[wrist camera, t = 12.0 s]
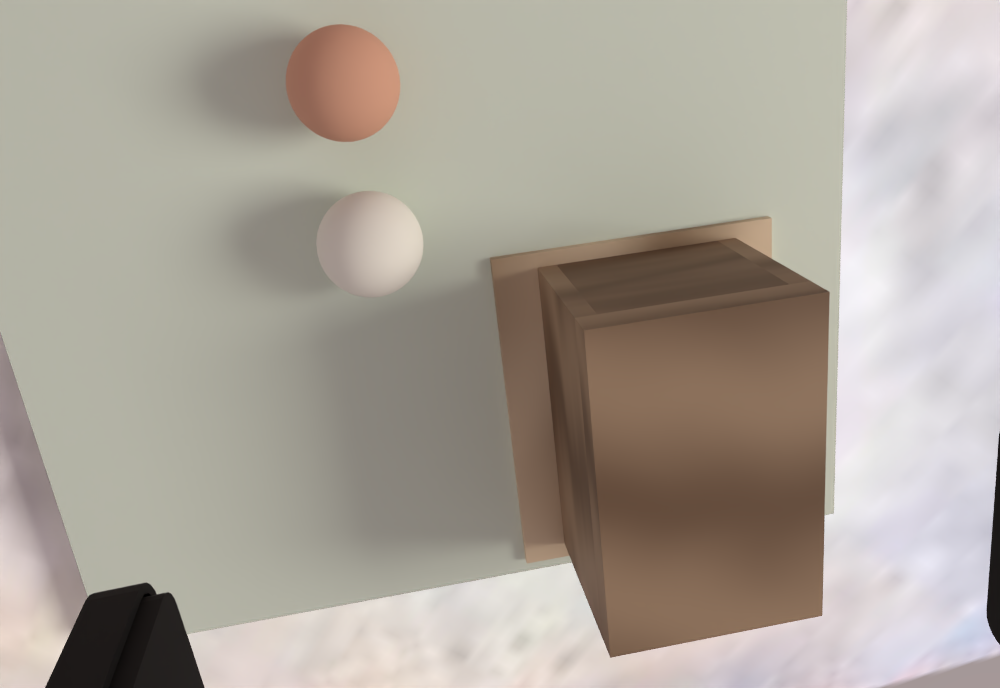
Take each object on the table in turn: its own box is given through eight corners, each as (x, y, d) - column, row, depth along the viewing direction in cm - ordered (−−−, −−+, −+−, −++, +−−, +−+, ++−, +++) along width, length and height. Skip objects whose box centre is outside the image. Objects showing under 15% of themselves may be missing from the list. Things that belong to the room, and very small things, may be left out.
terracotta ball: (389, 17, 25) (393, 17, 22) (404, 127, 26) (411, 140, 23) (279, 30, 24) (270, 32, 22) (300, 141, 26) (294, 156, 23)
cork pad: (767, 216, 28) (771, 218, 28) (769, 513, 32) (772, 517, 32) (489, 257, 28) (491, 260, 27) (525, 558, 31) (526, 563, 31)
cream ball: (412, 175, 26) (419, 194, 24) (426, 273, 27) (434, 302, 25) (309, 190, 26) (304, 210, 23) (328, 288, 27) (325, 318, 24)
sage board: (829, -119, 26) (850, -125, 25) (817, 497, 34) (833, 513, 33) (-94, -18, 24) (-117, -21, 23) (113, 627, 31) (105, 649, 30)
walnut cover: (537, 267, 28) (583, 330, 22) (735, 237, 28) (829, 291, 23) (564, 543, 31) (610, 657, 26) (740, 510, 32) (822, 615, 26)
